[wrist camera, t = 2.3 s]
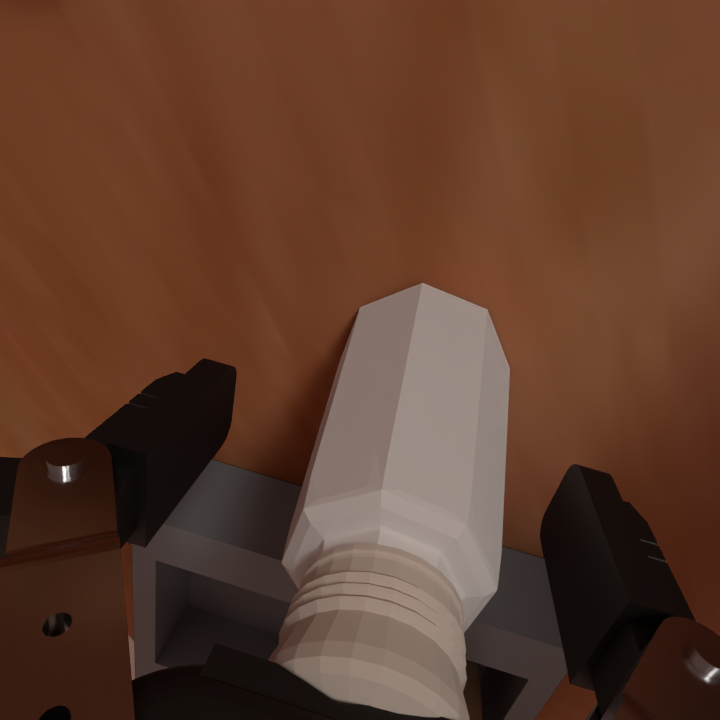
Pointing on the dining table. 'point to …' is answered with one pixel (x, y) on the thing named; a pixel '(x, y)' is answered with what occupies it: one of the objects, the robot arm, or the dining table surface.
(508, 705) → the grey rectangular open block
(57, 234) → the dining table surface
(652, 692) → the robot arm
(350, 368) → the salt shaker
